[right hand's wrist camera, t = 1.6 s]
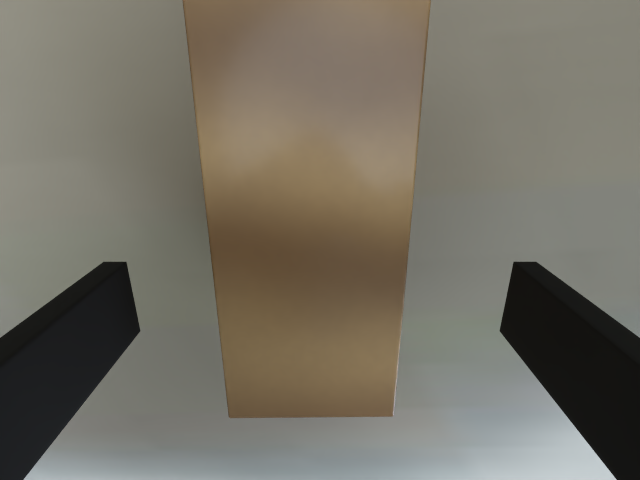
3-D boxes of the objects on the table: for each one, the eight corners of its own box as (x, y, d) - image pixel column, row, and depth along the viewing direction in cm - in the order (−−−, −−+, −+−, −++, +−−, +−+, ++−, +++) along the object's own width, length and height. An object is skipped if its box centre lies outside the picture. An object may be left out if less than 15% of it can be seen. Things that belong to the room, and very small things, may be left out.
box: (358, 274, 25) (394, 417, 14) (268, 275, 25) (228, 418, 13) (376, -202, 17) (509, -862, 5) (242, -203, 17) (84, -875, 5)
